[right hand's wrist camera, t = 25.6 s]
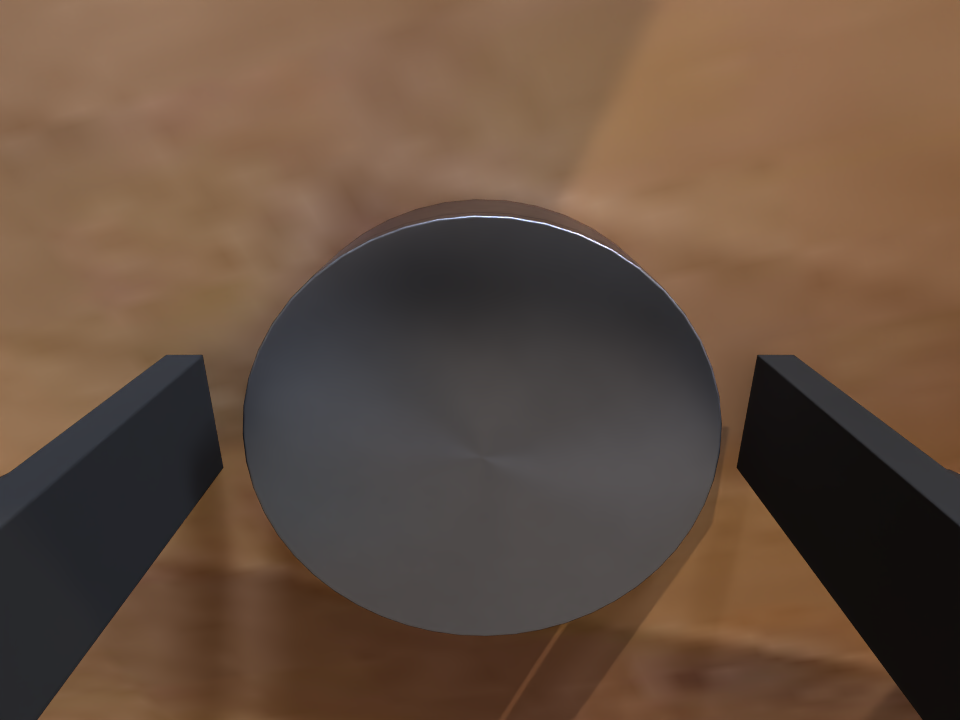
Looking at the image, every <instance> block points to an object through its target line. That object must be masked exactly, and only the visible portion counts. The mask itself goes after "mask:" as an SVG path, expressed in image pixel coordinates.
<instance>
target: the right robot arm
mask: <svg viewBox="0 0 960 720" xmlns="http://www.w3.org/2000/svg"><path fill="white" fill-rule="evenodd" d="M222 469H223V463H222V458H221V452H220V447H219V441H218V436H217V430H216V425H215V420H214V414H213V409H212V403H211V398H210V393H209V387H208V382H207V376H206V371H205V365H204V360H203V355H166V356H164V357H163V358H162V359H160V360H159V361H158V362H156V363H155V364H154V365H152V366H151V367H150V368H148V369H147V370H146V371H144V372H143V373H142V374H140V375H139V376H138V377H136V378H135V379H134V380H132V381H131V382H130V383H128V384H127V385H126V386H124V387H123V388H122V389H120V390H119V391H118V392H116V393H115V394H114V395H112V396H111V397H110V398H108V399H107V400H106V401H104V402H103V403H102V404H100V405H99V406H98V407H96V408H95V409H94V410H92V411H91V412H90V413H88V414H87V415H86V416H84V417H83V418H82V419H80V420H79V421H78V422H76V423H75V424H74V425H72V426H71V427H70V428H68V429H67V430H66V431H64V432H63V433H62V434H60V435H59V436H58V437H56V438H55V439H54V440H52V441H51V442H50V443H48V444H47V445H46V446H44V447H43V448H42V449H40V450H39V451H38V452H36V453H35V454H34V455H32V456H31V457H30V458H28V459H27V460H26V461H24V462H23V463H22V464H20V465H19V466H18V467H16V468H15V469H14V470H12V471H11V472H9V473H7V474H5V475H3V476H1V477H0V720H37V719H38V718H39V717H40V715H41V714H42V713H43V711H44V710H45V709H46V707H47V706H48V705H49V703H50V702H51V700H52V699H53V698H54V696H55V695H56V694H57V692H58V691H59V690H60V688H61V687H62V686H63V684H64V683H65V681H66V680H67V679H68V677H69V676H70V675H71V673H72V672H73V671H74V669H75V668H76V667H77V665H78V664H79V663H80V661H81V660H82V658H83V657H84V656H85V654H86V653H87V652H88V650H89V649H90V648H91V646H92V645H93V644H94V642H95V641H96V639H97V638H98V637H99V635H100V634H101V633H102V631H103V630H104V629H105V627H106V626H107V625H108V623H109V622H110V621H111V619H112V618H113V616H114V615H115V614H116V612H117V611H118V610H119V608H120V607H121V606H122V604H123V603H124V602H125V600H126V599H127V597H128V596H129V595H130V593H131V592H132V591H133V589H134V588H135V587H136V585H137V584H138V583H139V581H140V580H141V579H142V577H143V576H144V574H145V573H146V572H147V570H148V569H149V568H150V566H151V565H152V564H153V562H154V561H155V560H156V558H157V557H158V555H159V554H160V553H161V551H162V550H163V549H164V547H165V546H166V545H167V543H168V542H169V541H170V539H171V538H172V537H173V535H174V534H175V532H176V531H177V530H178V528H179V527H180V526H181V524H182V523H183V522H184V520H185V519H186V518H187V516H188V515H189V513H190V512H191V511H192V509H193V508H194V507H195V505H196V504H197V503H198V501H199V500H200V499H201V497H202V496H203V495H204V493H205V492H206V490H207V489H208V488H209V486H210V485H211V484H212V482H213V481H214V480H215V478H216V477H217V476H218V474H219V473H220V471H221V470H222ZM737 469H738V470H739V471H740V473H741V474H742V476H743V477H744V478H745V480H746V481H747V482H748V484H749V485H750V486H751V488H752V489H753V490H754V492H755V493H756V495H757V496H758V497H759V499H760V500H761V501H762V503H763V504H764V505H765V507H766V508H767V509H768V511H769V512H770V513H771V515H772V516H773V518H774V519H775V520H776V522H777V523H778V524H779V526H780V527H781V528H782V530H783V531H784V532H785V534H786V535H787V537H788V538H789V539H790V541H791V542H792V543H793V545H794V546H795V547H796V549H797V550H798V551H799V553H800V554H801V555H802V557H803V558H804V560H805V561H806V562H807V564H808V565H809V566H810V568H811V569H812V570H813V572H814V573H815V574H816V576H817V577H818V579H819V580H820V581H821V583H822V584H823V585H824V587H825V588H826V589H827V591H828V592H829V593H830V595H831V596H832V597H833V599H834V600H835V602H836V603H837V604H838V606H839V607H840V608H841V610H842V611H843V612H844V614H845V615H846V616H847V618H848V619H849V621H850V622H851V623H852V625H853V626H854V627H855V629H856V630H857V631H858V633H859V634H860V635H861V637H862V638H863V639H864V641H865V642H866V644H867V645H868V646H869V648H870V649H871V650H872V652H873V653H874V654H875V656H876V657H877V658H878V660H879V661H880V663H881V664H882V665H883V667H884V668H885V669H886V671H887V672H888V673H889V675H890V676H891V677H892V679H893V680H894V681H895V683H896V684H897V686H898V687H899V688H900V690H901V691H902V692H903V694H904V695H905V696H906V698H907V699H908V700H909V702H910V703H911V705H912V706H913V707H914V709H915V710H916V711H917V713H918V714H919V715H920V717H921V718H922V719H923V720H960V474H958V473H956V472H954V471H952V470H946V469H945V468H944V467H942V466H941V465H940V464H938V463H937V462H936V461H934V460H933V459H932V458H930V457H929V456H928V455H926V454H925V453H924V452H922V451H921V450H920V449H918V448H917V447H916V446H914V445H913V444H912V443H910V442H909V441H908V440H906V439H905V438H904V437H902V436H901V435H900V434H898V433H897V432H896V431H894V430H893V429H892V428H890V427H889V426H888V425H886V424H885V423H884V422H882V421H881V420H880V419H878V418H877V417H876V416H874V415H873V414H872V413H870V412H869V411H868V410H866V409H865V408H864V407H862V406H861V405H860V404H858V403H857V402H856V401H854V400H853V399H852V398H850V397H849V396H848V395H846V394H845V393H844V392H842V391H841V390H840V389H838V388H837V387H836V386H834V385H833V384H832V383H830V382H829V381H828V380H826V379H825V378H824V377H822V376H821V375H820V374H818V373H817V372H816V371H814V370H813V369H812V368H810V367H809V366H808V365H806V364H805V363H804V362H802V361H801V360H800V359H798V358H797V357H796V356H794V355H757V360H756V365H755V371H754V376H753V382H752V387H751V393H750V398H749V403H748V409H747V414H746V420H745V425H744V431H743V436H742V441H741V447H740V452H739V458H738V463H737Z"/></svg>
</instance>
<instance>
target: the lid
mask: <svg viewBox="0 0 960 720" xmlns="http://www.w3.org/2000/svg"><path fill="white" fill-rule="evenodd" d="M721 426H722V423H721V411H720V399H719V393H718V389H717V385H716V381H715V377H714V373H713V368H712V366H711V363H710V361H709V358H708V356H707V354H706V351H705V349H704V346H703V344H702V342H701V339H700V338H699V336H698V335H697V333H696V331H695V330H694V328H693V326H692V325H691V323H690V321H689V320H688V318H687V316H686V315H685V313H684V312H683V311H682V310H681V309H680V307H679V306H678V305H677V304H676V303H675V301H674V300H673V299H672V298H671V297H670V295H669V294H668V293H667V292H666V291H665V289H664V288H663V287H662V286H660V285H659V284H658V283H657V282H656V281H655V280H654V279H653V278H652V277H651V276H650V275H649V274H648V273H647V272H646V271H645V270H644V269H643V268H641V267H640V266H639V265H638V264H637V263H636V262H635V261H634V260H633V259H632V258H631V257H629V256H628V255H627V254H626V253H625V252H624V251H623V250H622V249H621V248H619V247H618V246H617V245H616V244H615V243H613V242H612V241H610V240H609V239H607V238H606V237H604V236H603V235H601V234H600V233H598V232H597V231H595V230H594V229H592V228H591V227H588V226H586V225H584V224H582V223H580V222H578V221H576V220H574V219H572V218H570V217H568V216H566V215H563V214H560V213H557V212H554V211H550V210H547V209H544V208H541V207H538V206H534V205H528V204H522V203H517V202H511V201H503V200H478V199H475V200H464V201H454V202H445V203H440V204H436V205H432V206H428V207H423V208H419V209H415V210H413V211H410V212H407V213H405V214H402V215H400V216H397V217H394V218H392V219H389V220H387V221H385V222H384V223H382V224H380V225H378V226H376V227H374V228H373V229H371V230H369V231H367V232H365V233H364V234H362V235H361V236H359V237H358V238H357V239H355V240H354V241H353V242H351V243H350V244H349V245H347V246H346V247H345V248H343V249H342V250H341V251H340V252H338V253H337V254H336V255H335V256H334V257H333V258H332V259H331V260H330V261H329V262H328V263H327V264H325V265H324V266H323V267H322V268H321V269H320V270H319V271H318V272H317V273H316V274H315V275H313V276H312V277H311V278H310V279H309V280H308V281H307V282H306V283H305V284H304V285H303V286H302V287H301V288H300V289H299V290H298V291H297V292H296V293H295V294H294V296H293V297H292V298H291V299H290V300H289V301H288V303H287V304H286V305H285V307H284V308H283V309H282V311H281V312H280V313H279V315H278V316H277V318H276V319H275V320H274V322H273V323H272V325H271V327H270V329H269V330H268V332H267V334H266V336H265V338H264V340H263V342H262V344H261V346H260V348H259V349H258V352H257V355H256V358H255V361H254V364H253V366H252V369H251V372H250V375H249V378H248V384H247V389H246V395H245V401H244V408H243V439H244V447H245V455H246V462H247V466H248V470H249V473H250V477H251V481H252V484H253V488H254V490H255V492H256V495H257V497H258V499H259V502H260V504H261V506H262V509H263V511H264V513H265V515H266V516H267V518H268V520H269V521H270V523H271V524H272V526H273V528H274V529H275V531H276V533H277V534H278V536H279V537H280V538H281V540H282V541H283V542H284V543H285V545H286V546H287V547H288V548H289V550H290V551H291V552H292V553H293V555H294V556H295V557H296V558H297V559H298V560H299V561H300V562H301V563H302V564H303V565H304V566H305V567H306V568H307V569H308V570H309V571H310V572H311V573H312V574H313V575H315V576H316V577H317V578H319V579H320V580H321V581H322V582H324V583H325V584H326V585H328V586H329V587H330V588H331V589H333V590H334V591H335V592H337V593H339V594H340V595H342V596H344V597H345V598H347V599H349V600H350V601H352V602H353V603H355V604H357V605H359V606H361V607H363V608H365V609H367V610H369V611H371V612H374V613H376V614H378V615H380V616H382V617H385V618H388V619H391V620H394V621H397V622H399V623H402V624H405V625H408V626H413V627H417V628H421V629H425V630H429V631H434V632H441V633H449V634H456V635H475V636H493V635H509V634H518V633H524V632H530V631H536V630H541V629H545V628H549V627H552V626H556V625H560V624H564V623H567V622H570V621H572V620H575V619H577V618H580V617H582V616H585V615H588V614H590V613H593V612H594V611H596V610H598V609H600V608H602V607H604V606H606V605H608V604H610V603H612V602H614V601H616V600H617V599H619V598H620V597H622V596H623V595H625V594H626V593H628V592H629V591H631V590H632V589H634V588H635V587H637V586H638V585H639V584H641V583H642V582H643V581H644V580H645V579H647V578H648V577H649V576H650V575H651V574H652V573H654V572H655V571H656V570H657V569H658V568H659V567H660V566H661V565H662V564H663V563H664V562H665V561H666V560H667V559H668V558H669V557H670V556H671V554H672V553H673V552H674V551H675V550H676V549H677V548H678V546H679V545H680V543H681V542H682V541H683V539H684V538H685V537H686V535H687V534H688V532H689V531H690V530H691V528H692V527H693V525H694V523H695V521H696V519H697V517H698V515H699V514H700V512H701V510H702V508H703V506H704V504H705V502H706V499H707V496H708V494H709V491H710V488H711V486H712V483H713V480H714V476H715V472H716V467H717V463H718V458H719V453H720V441H721Z"/></svg>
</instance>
